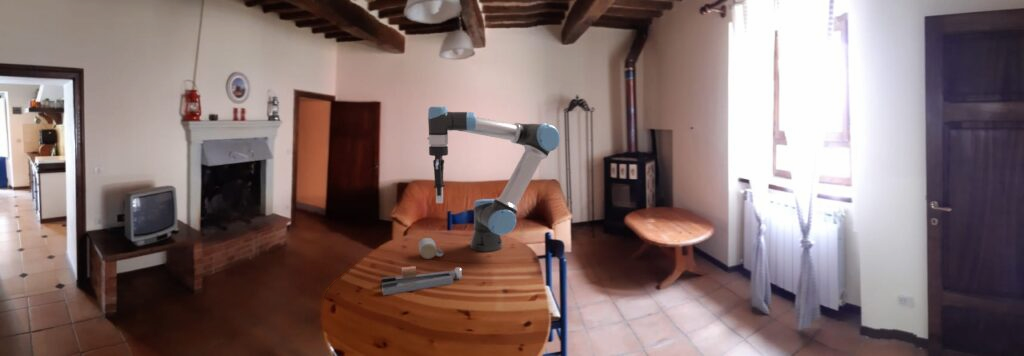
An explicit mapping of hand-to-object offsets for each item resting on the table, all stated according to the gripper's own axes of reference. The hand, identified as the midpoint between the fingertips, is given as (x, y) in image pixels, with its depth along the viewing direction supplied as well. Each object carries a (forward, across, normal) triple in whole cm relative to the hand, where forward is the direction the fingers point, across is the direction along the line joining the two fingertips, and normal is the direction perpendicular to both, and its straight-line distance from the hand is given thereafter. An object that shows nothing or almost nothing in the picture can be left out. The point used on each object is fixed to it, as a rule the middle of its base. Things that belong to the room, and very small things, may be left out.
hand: (439, 202), depth 166 cm
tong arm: (+26, +18, -5) cm, 32 cm away
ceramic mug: (+27, -10, -6) cm, 29 cm away
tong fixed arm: (+26, +23, -5) cm, 35 cm away
